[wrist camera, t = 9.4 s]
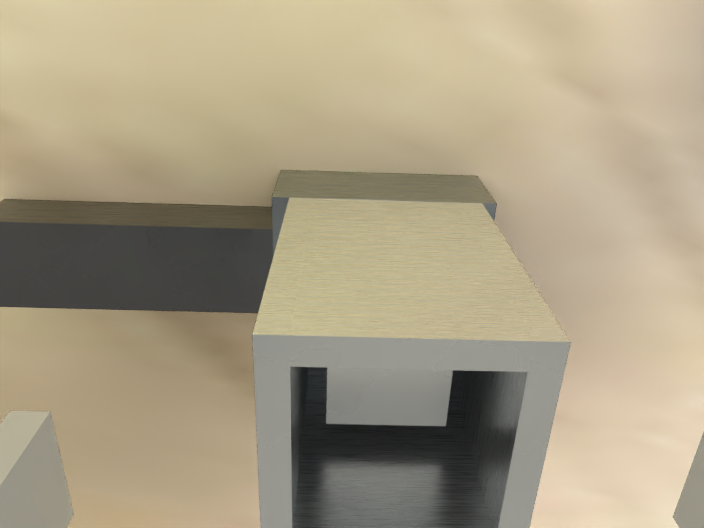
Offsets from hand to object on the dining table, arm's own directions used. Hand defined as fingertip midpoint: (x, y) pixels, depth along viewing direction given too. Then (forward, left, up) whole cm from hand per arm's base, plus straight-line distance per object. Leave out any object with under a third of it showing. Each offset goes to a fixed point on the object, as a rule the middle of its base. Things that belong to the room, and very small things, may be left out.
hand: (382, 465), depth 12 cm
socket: (0, 0, -8) cm, 8 cm away
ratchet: (-5, 0, -11) cm, 12 cm away
